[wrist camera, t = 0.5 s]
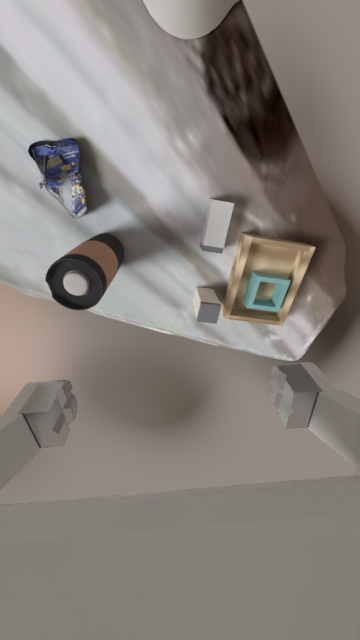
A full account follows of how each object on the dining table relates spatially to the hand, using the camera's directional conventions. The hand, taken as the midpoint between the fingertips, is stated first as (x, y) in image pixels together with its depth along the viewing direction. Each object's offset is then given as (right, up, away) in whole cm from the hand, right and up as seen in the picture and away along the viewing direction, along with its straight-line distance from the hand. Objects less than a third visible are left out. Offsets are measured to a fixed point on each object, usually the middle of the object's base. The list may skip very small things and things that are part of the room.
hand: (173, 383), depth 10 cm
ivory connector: (+6, +8, +46) cm, 47 cm away
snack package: (-21, +28, +34) cm, 49 cm away
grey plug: (+7, +22, +38) cm, 45 cm away
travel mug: (-15, +17, +40) cm, 46 cm away
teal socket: (+19, +10, +46) cm, 50 cm away
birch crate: (+18, +12, +45) cm, 50 cm away
